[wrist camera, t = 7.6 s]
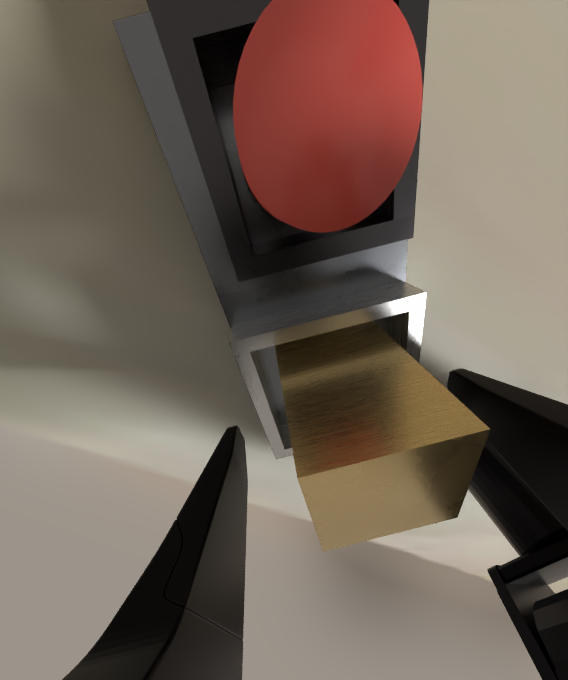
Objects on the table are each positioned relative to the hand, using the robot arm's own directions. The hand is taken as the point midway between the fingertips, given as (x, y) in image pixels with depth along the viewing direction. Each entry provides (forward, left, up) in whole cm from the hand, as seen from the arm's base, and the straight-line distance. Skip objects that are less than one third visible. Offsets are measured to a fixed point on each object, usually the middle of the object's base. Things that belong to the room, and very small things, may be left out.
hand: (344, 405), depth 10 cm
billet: (0, 0, -2) cm, 2 cm away
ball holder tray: (+4, 0, -3) cm, 5 cm away
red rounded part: (+8, 0, -1) cm, 9 cm away
